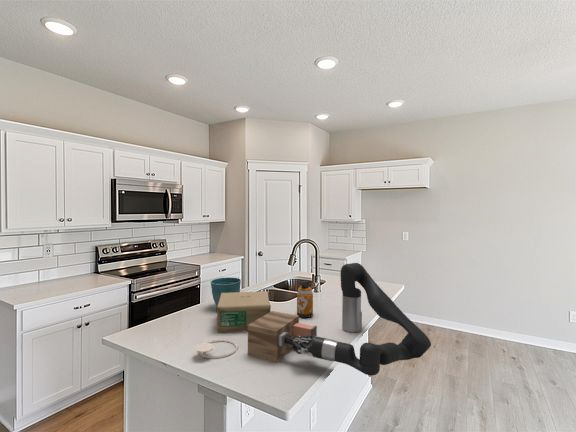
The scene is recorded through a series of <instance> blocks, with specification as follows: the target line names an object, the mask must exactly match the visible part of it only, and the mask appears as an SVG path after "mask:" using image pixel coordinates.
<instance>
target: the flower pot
mask: <svg viewBox="0 0 576 432" xmlns="http://www.w3.org/2000/svg"><path fill="white" fill-rule="evenodd" d="M241 282H242V279H241V278H238V277H233V276H232V277H231V276H230V277H219V278H214V279H211V281H210V288H211V295H212V298H213V299H212V300H213V301H214V305H215V308H216V310H217V306H218V303H219V299H220V296H221V293H234V292H241Z"/></svg>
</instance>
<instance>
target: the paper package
mask: <svg viewBox="0 0 576 432" xmlns="http://www.w3.org/2000/svg"><path fill="white" fill-rule="evenodd" d="M271 308H272V307H271V302H270V293H269V291H267V290H263V291H261V290H260V291H240V292H234V293H221V296H220V299H219V303H218V306H217V309H216V311H217V312H216V313H217V314H216V315H217V319H216V321H217V331H216V332H217V333H218V334H219V333H220V334H221V333H235V332H248V325H249V324H250V323H252V322H254V321H256V320H257V319H259V318H261V317H262V316H264V315H266V314H268V313H269V312H271V310H272V309H271Z"/></svg>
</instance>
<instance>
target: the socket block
mask: <svg viewBox="0 0 576 432" xmlns="http://www.w3.org/2000/svg"><path fill="white" fill-rule="evenodd" d="M294 323H300V316H298V315H297V314H291V313H285V312H280V311H275V310H272V311H271V312H269V313H268V314H266V315H264V316H262V317H261V318H259V319H257V320H256V321H254V322H252V323H250V324H249V325H248V331H247V355H248V356H252V357H255V358H260V359H262V360H263V359H264V360H267V361H269V362H275V363H278V362H279V361H280V360H281V359H282V358H283V357H284V356H286V355H287V354H288V353H289V352H290V351H292V349H293V348H292V345H289V344H287V345H286V346H284V347H282V346H279V334H281V333H282V332H285V333H286V332H289V337H290V338H294V339H295V338H298V337H300V336H296V335H292V325H293V324H294Z"/></svg>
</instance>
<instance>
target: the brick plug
mask: <svg viewBox="0 0 576 432" xmlns="http://www.w3.org/2000/svg"><path fill="white" fill-rule="evenodd" d="M317 328H318V327H317V325H311V324H306V323H300V322H299V323H294V324H293V325H292V335H296V336H299V337H300V336H313V339H314V338H315V337H318V333H317V332H318V331H317V330H318V329H317Z"/></svg>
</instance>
